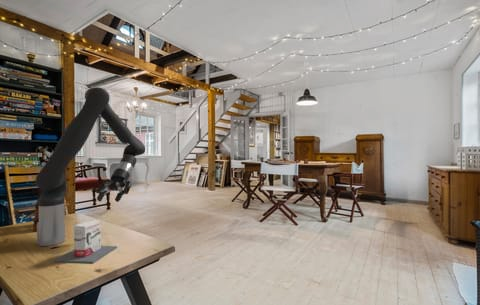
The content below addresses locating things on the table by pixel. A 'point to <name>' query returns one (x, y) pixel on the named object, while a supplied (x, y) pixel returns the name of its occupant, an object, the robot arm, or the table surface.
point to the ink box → (87, 238)
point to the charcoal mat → (88, 259)
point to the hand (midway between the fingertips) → (107, 200)
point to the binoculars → (36, 213)
